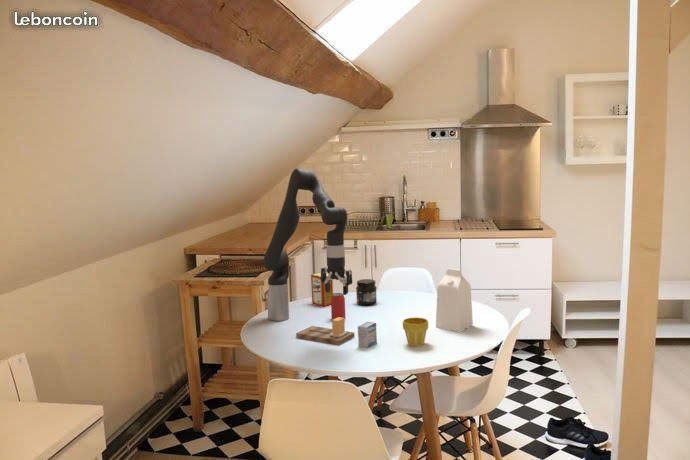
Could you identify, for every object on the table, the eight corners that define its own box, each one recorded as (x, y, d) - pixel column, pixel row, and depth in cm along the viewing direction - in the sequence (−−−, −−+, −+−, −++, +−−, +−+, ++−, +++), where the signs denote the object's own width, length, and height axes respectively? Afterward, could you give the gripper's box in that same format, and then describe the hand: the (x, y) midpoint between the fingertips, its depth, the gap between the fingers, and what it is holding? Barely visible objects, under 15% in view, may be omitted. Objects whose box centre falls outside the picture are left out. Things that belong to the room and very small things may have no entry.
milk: (472, 325, 271) (472, 268, 267) (458, 332, 262) (458, 273, 259) (450, 321, 279) (449, 265, 275) (435, 327, 271) (435, 269, 267)
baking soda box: (333, 304, 314) (332, 274, 312) (323, 307, 310) (322, 276, 308) (322, 301, 321) (321, 271, 319) (312, 303, 317) (311, 273, 315)
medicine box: (367, 348, 245) (367, 327, 244) (358, 346, 248) (357, 326, 246) (377, 342, 252) (376, 322, 251) (367, 341, 254) (367, 321, 253)
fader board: (296, 337, 262) (296, 332, 261) (312, 330, 272) (312, 325, 272) (339, 345, 250) (339, 340, 250) (354, 337, 260) (354, 332, 260)
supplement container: (357, 301, 320) (357, 278, 318) (377, 301, 319) (377, 278, 317) (355, 306, 310) (354, 283, 308) (375, 306, 308) (375, 283, 307)
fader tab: (329, 335, 256) (329, 320, 255) (337, 331, 261) (337, 316, 260) (339, 337, 253) (339, 321, 252) (347, 333, 258) (347, 317, 257)
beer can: (343, 321, 284) (343, 296, 282) (330, 320, 285) (329, 295, 284) (346, 317, 291) (345, 292, 289) (333, 316, 292) (332, 292, 290)
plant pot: (402, 339, 254) (401, 317, 253) (427, 339, 254) (426, 316, 253) (404, 348, 244) (403, 324, 243) (429, 347, 244) (429, 324, 242)
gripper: (316, 255, 253) (317, 293, 255) (345, 258, 246) (346, 297, 248) (326, 252, 259) (327, 289, 262) (355, 255, 252) (355, 293, 254)
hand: (336, 293), depth 255 cm, fingers open, 8 cm apart
